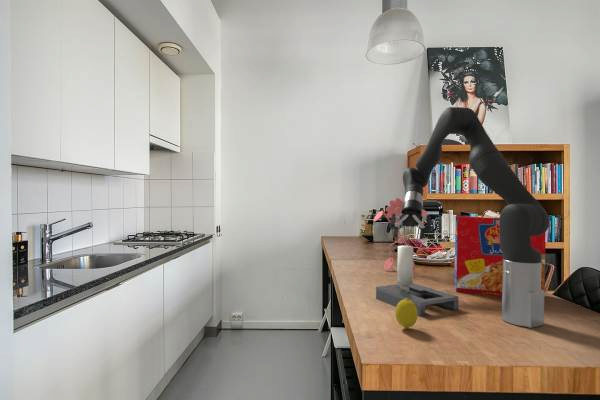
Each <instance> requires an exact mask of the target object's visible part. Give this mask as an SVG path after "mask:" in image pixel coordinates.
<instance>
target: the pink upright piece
mask: <svg viewBox="0 0 600 400" xmlns="http://www.w3.org/2000/svg"><path fill="white" fill-rule="evenodd" d="M403 199H404V197H403V198H402V199H400V198H398V197H396V198H395V199H391V200H389V206H387V207H386V208H385V211H386V212H387V214H386V213H385V212H384V210H381V211H379V212H377V213H376V214H375V216H374V218H373V223H375V222H376V221H378V220H379V219H381V218H382V216H383V215H384V216H385V218H386V219H387V221H388V223H390V222H391V218H392V214H395V215H396V216H400V215H401V211H402V205H403ZM427 215H429V213H428V211H426V210H425V208H424V209H423V208H422V217H427ZM399 220H400V219H398V220H397V222H396V221H395V225H396V224H397V223H398V222H399ZM402 224H403V223H402ZM398 236H399V237H398V238H397V241H395V242H393V243H391V244H389V249H391V246H392V245H394V244H396V243H398V244H400V245H401V244H406V246H412V245H411V244H409V243H407V242H405V239H404V238H402V237H401V232H400V230H399V233H398ZM412 247H413V248H414V246H412ZM391 253H392V252H391V250H389V258H387V259H386V260H385V262H384V266H383V267H384V270H385V272H386V271H388V270H391V269H392V270H393V265H394V258H393V257H391V256H392V254H391ZM378 268H381V266H379V267H378ZM415 271H416V264H415V262H414V261H413V274H414V273H415ZM386 275H389V274H388V273H386ZM392 275H393V274H392ZM414 276H415V275H413V278H415V277H414ZM392 277H395V275H393V276H392Z"/></svg>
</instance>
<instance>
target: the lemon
mask: <svg viewBox="0 0 600 400" xmlns="http://www.w3.org/2000/svg"><path fill="white" fill-rule="evenodd" d="M395 319H396V321H397V323H398V324H399V325H400V326H402V327H403V328H404V329H405V330H408V329H409V328H411V327H413V326H414V325H415V324H416V323H417V321H418V313H417V308H416V306H415V304H414V303H413V302H412V301H410V300H409V299H408V298H405V299H404V300H401V301H400V302H399V303H398V304H397V307H396V306H395Z"/></svg>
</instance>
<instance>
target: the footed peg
mask: <svg viewBox="0 0 600 400" xmlns="http://www.w3.org/2000/svg"><path fill="white" fill-rule="evenodd" d="M413 262H414V246H413V247H412V245H411V246H409V245H398V246H397V268H396V269H397V273H396V274H397V275H396V277H397V278H396V279H397V281H396V284H400V289H402V290H405V291H408V292H409V285H412V284H413V283H414V282H413V281H414V280H413V278H414V277H413V276H414V273H413ZM411 295H412V294H411Z"/></svg>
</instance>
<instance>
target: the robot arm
mask: <svg viewBox="0 0 600 400" xmlns="http://www.w3.org/2000/svg"><path fill="white" fill-rule="evenodd" d="M449 135H462V136H463V137H464V138H465V140H466V141H467V142H468V144H469V146H470V147H469V148H470V149H469V151H470V152H469V158H468V159H469V160H468V161H469V166H470V167H471V169H472V171H473V172H474V174H475V175H476V177H477V178H478V179H479V181H480V182H481V183H482V184H483V185H484V186H485V187H487V188H488V189H489V190H491V191H492V192H494V193H495V194H496V195H498V196H499V197H500V198H501V199H503V200H504V202H505V203H506V204H507V205H505V206H504V208H503V209H502V210H501V212H500V215H499V217H500V220H499V231H500V247H501V250H502V253H503V279H502V296H501V320H503V321H504V322H507V323H508V324H512V325H515V326H520V327H526V328H528V329H529V328H530V329H531V328H532V329H533V328H538V327H539V326H544V325H545V292H544V290H541V260H542V256H541V253H540V252H539V251H538V250H536V249H534V248H533V247H532V245H531V240H530V236H538V235H542V234H543V233H545V232H547V231H548V229H549V226H550V218H549V215H548V213H547V211H546V209H545V208H544V207H543V206H542V205H541V203H540V202H539V201H538V200H537V199H536V198H535V197H534V196H533V195H532V194H531V192H530V191H529V190H528V189H527V188H526V187H525V185H524V184H523V183H522V181H521V180H520V178H519V177H518V176H517V175H516V173H515V171H513V170H512V168H511V166H510V165H509V163H508V162H507V159H506V158H504V155H503V154H502V153H501V151H500V150H499V149H498V148H497V146H496V145H495V143H494V142H493V141H492V139H491V137H490V136H489V135H488V133H487V132H486V130H485V128H484V126H483V124H482V122H481V120H480V118H479V117H478V115H477V113H476V112H475V111H474V110H473V109H472V108H469V107H458V106H451V107H447V108H445V109H443V111H442V112H441V114H440V115H439V117H438V120H437V121H436V124H435V126H434V129H433V131H432V132H431V136H430V138H429V141H428V143H427V144H426V147H425V148H424V150H423V151H422V153H421V154H420V156H419V157H418V159H417V160H416V162H415V167H416V168H415V167H411V166H410V167H407V168H406V169H405V170H404V171H403V173H402V183H403V186H404V197H403V198H404V199H403V198H402V199H403V205H402V211H401V215H400V216H396V215H395V214H392V218H390V221H391V222H389V226H390V227H389V228H390V230H392V231H393V237H394V238H395V239H399V231H400V230H401V229H404V228H405V227H406V228H408V227H411V228H415V227H416V228H417V229H418V230H419V240H420V241H422V240H424V239H425V235H426V232H431V215H430V214H428V215H427V217H422V209H423V207H424V199H423V197H424V188H425V187H426V186H427V185H428V183H429V180H430V177H431V175H432V172H433V170H434V168H435V167H436V166H437V164H439V162H440V160H441V158H442V155H443V142H444V140H445V139H446V138H447V137H448V136H449ZM398 219H400V220H399V222H398V221H397V220H398ZM395 221H396V222H398V223H396V224H395ZM422 221H424V222H425V224H426V225H424V224H423V223H422ZM402 223H403V224H402Z"/></svg>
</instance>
